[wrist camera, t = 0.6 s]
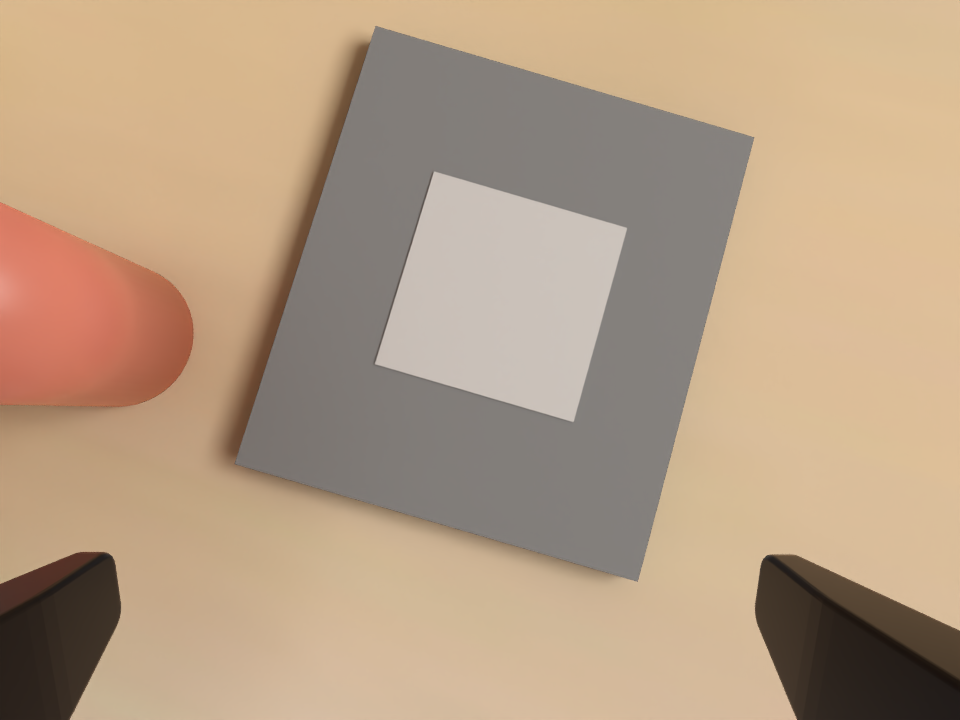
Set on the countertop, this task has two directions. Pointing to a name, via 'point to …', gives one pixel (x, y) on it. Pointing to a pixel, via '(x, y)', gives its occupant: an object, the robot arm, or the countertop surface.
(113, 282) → the salt shaker
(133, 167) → the countertop surface
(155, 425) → the countertop surface
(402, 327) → the mat
